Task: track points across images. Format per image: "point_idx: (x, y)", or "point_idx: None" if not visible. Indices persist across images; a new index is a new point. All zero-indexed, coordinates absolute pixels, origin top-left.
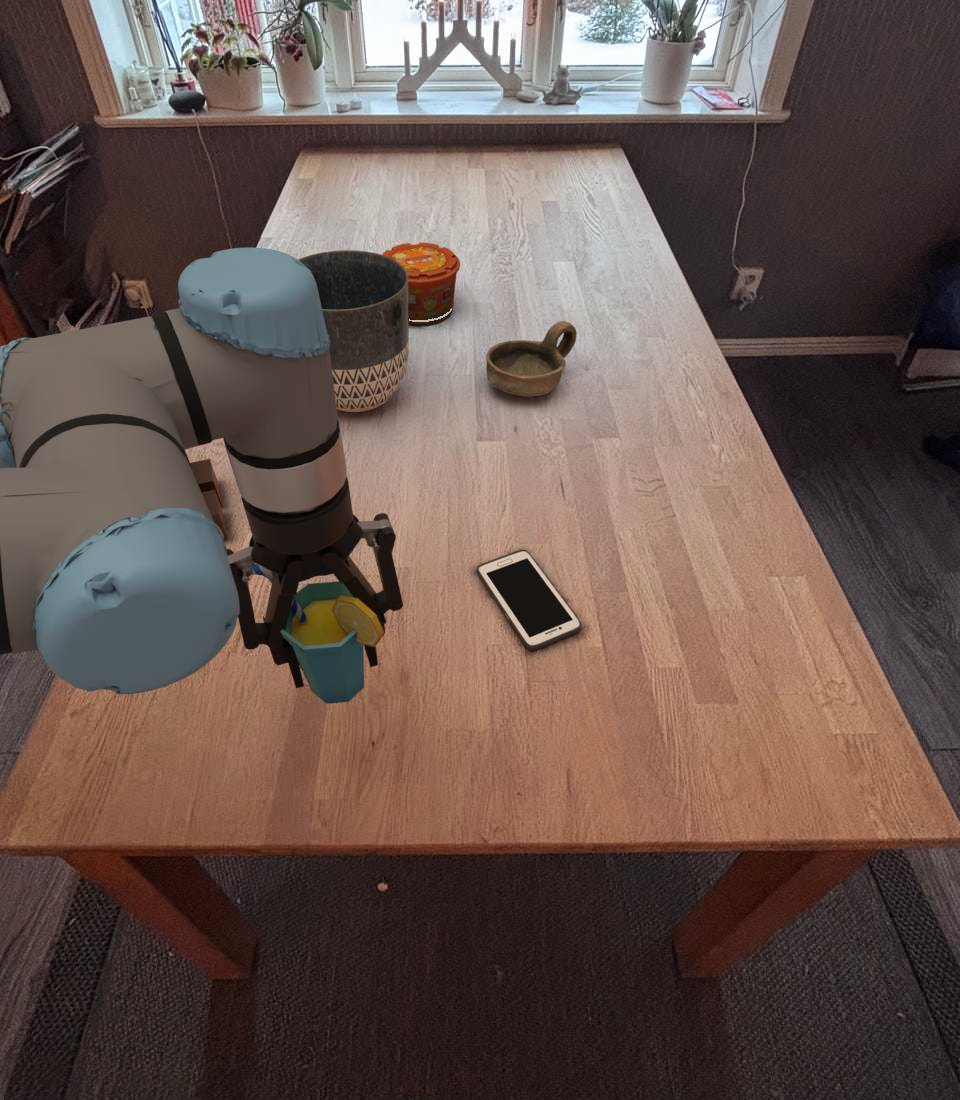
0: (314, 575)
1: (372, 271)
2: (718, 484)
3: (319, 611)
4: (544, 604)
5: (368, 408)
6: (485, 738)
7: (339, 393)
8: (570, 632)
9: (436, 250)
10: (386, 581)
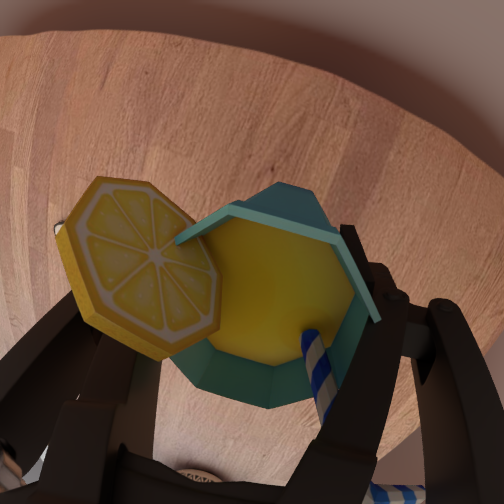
0: (198, 487)
1: None
2: None
3: (268, 340)
4: None
5: (193, 472)
6: (156, 136)
7: None
8: (61, 222)
9: None
10: (49, 336)
